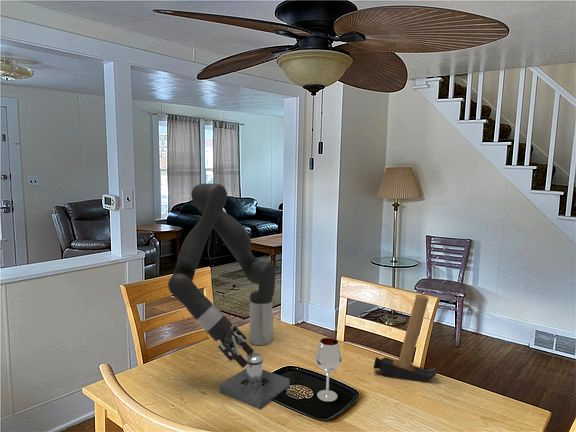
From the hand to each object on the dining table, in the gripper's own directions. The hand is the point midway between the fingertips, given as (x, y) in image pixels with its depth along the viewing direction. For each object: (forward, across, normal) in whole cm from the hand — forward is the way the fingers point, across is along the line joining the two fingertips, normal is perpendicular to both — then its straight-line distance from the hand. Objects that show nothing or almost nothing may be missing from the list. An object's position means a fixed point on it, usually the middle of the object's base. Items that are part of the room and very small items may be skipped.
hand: (248, 359), depth 133 cm
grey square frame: (+8, 0, +5) cm, 10 cm away
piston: (+8, 0, +6) cm, 10 cm away
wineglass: (+25, 0, -11) cm, 27 cm away
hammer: (+44, +18, -29) cm, 55 cm away
